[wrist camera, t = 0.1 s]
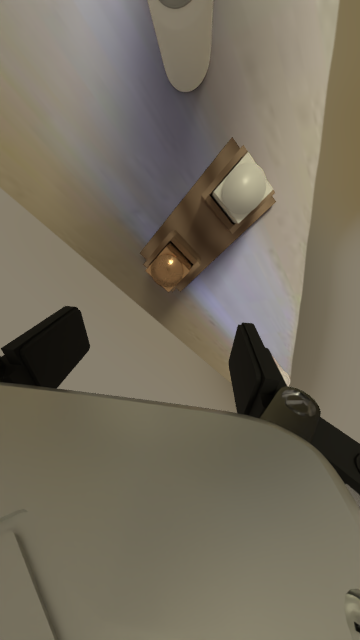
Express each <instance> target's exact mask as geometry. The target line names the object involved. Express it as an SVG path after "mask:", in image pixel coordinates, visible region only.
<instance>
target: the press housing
mask: <svg viewBox="0 0 360 640" xmlns="http://www.w3.org/2000/svg"><path fill="white" fill-rule="evenodd" d="M247 152H248V151H247V150H246V148H245V147H244V145H243V146H242V147H241V148H239V146H238V145H237V143H236V142H235V140H234V139H233V137H232V138H231V139H230V140H229V142H228V143H227V144H226V145H225V147H224V148H223V149H222V150H221V152H220V153H219V154H218V155H217V157H216V158H215V159H214V161H213V162H212V163H211V164H210V166H209V167H208V168H207V169H206V171H205V172H204V173H203V174H202V176H201V177H200V178H199V179H198V181H197V182H196V183H195V184H194V186H193V187H192V188H191V189H190V191H189V192H188V193H187V194H186V196H185V197H184V198H183V199H182V201H181V202H180V203H179V204H178V206H177V207H176V208H175V210H174V211H173V212H172V213H171V215H170V216H169V217H168V218H167V220H166V221H165V222H164V223H163V225H162V226H161V227H160V228H159V230H158V231H157V232H156V233H155V235H154V236H153V237H152V238H151V240H150V241H149V242H148V243H147V245H146V246H145V247H144V248H143V250H142V251H141V252H140V254H141V255H142V256H143V257H144V258H145V259H146V262H145V263H144V264H143V265H144V266H145V267H146V268H148V267H149V266H150V265H151V264H152V262H153V261H154V260H155V259H156V258H157V257H158V256H159V254H160V253H161V252H162V251H163V250H164V249H165V247H166V246H167V245H169V244H170V243H171V242H172V243H173V244H174V245H175V246H176V247H177V248H178V249H179V250H180V251H181V252H182V253H183V254H184V255H185V256H186V257H187V258H188V259H189V260H190V261H191V263H192V264H191V269H190V272H189V273H188V274H187V275H186V276H185V277H184V278H183V279H182V280H181V281H180V282H179V283H178V284H177V285H176V286H174V287H173V288H172V289H171V291H172V292H173V291H174V290H175V289H176V288H177V289H178V290H179V291H180V292H181V291H182V290H183V289H184V288H185V287H186V286H187V285H188V284H189V283H190V282H191V281H192V280H193V279H194V278H196V277H197V276H198V275H199V274H200V273H201V272H202V271H203V270H204V269H205V268H206V267H207V266H208V265H209V264H210V263H211V262H212V261H214V260H215V259H216V258H217V257H218V256H219V255H220V254H221V253H222V252H223V251H224V250H225V249H226V248H227V247H228V246H229V245H231V244H232V243H233V242H234V241H235V240H236V239H237V238H238V237H239V236H240V235H241V234H242V233H243V232H244V231H245V230H246V229H248V228H249V227H250V226H251V225H252V224H253V223H254V222H255V221H256V220H257V219H258V218H259V217H260V216H261V215H262V214H263V213H265V212H266V211H267V210H268V209H269V208H270V207H271V206H272V205H273V204H274V203H275V202H276V201H275V200H274V198H273V197H272V195H273V194H274V193H275V192H274V190H272V191H271V192H270V193H269V194H268V195H267V196H266V197H265V198H264V199H263V200H262V201H261V202H260V204H259V205H258V206H257V207H256V208H255V209H254V210H252V211H251V212H250V213H249V214H248V215H247V216H246V217H245V218H244V219H243V220H242V221H241V222H240V223H234V222H231V221H230V220H229V219H228V217H227V216H226V215H225V213H224V212H223V211H222V210H221V208H220V207H219V206H218V205H217V203H216V202H215V201H214V200H213V198H212V197H211V196H212V194H213V192H214V191H215V190H216V188H217V187H218V186H219V185H220V184H221V183H222V181H223V180H224V179H225V178H226V177H227V176H228V174H229V173H230V172H231V171H232V170H233V169H234V168H235V166H236V165H237V164H238V163H239V162H240V161H241V159H242V158H243V157H244V156H245V155H246V154H247Z"/></svg>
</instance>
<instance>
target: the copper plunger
mask: <svg viewBox="0 0 360 640" xmlns="http://www.w3.org/2000/svg"><path fill="white" fill-rule="evenodd" d="M191 264H192V263H191V261H190V260H189V259H188V258H187V257H186V256H185V255H184V254H183V253H182V252H181V251H180V250H179V249H178V248H177V247H176V246H175V245H174V244H173V243H172V242H171V243H170V244H169V245H167V246H166V247H165V249H164V250H163V251H162V252H161V253H160V254H159V256H158V257H157V258H156V259H155V260H154V261H153V262H152V264H151V265H150V266H149V267H148V268H147V269H146V272H147V273H148V274H149V275H151V276H152V278H153V279H154V281H155V282H156V283H157V284H158V285H160V286H162V287H163V288H165V289H166V290H167V291H168V292H169V291H170V290H171V289H172V288H173V287H174V286H176V285H177V284H178V283H179V282H180V281H181V280H182V279H183V278H184V277H185V276H186V275H187V274H188V273H189V272H190V269H191Z"/></svg>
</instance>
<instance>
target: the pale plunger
mask: <svg viewBox="0 0 360 640" xmlns="http://www.w3.org/2000/svg"><path fill="white" fill-rule="evenodd" d="M272 190H273V188H272V187H271V185H270V184H269V182H268V181H267V179H266V176H265V174H264V172H263V170H262V169H261V167H259V166H258V165H257V164H256V163H255V161H254V160H253V158H252V157H251V155H250V154H249V152H247V154H246V155H245V156H244V157H243V158H242V159H241V161H240V162H239V163H238V164H237V165H236V166H235V168H234V169H233V170H232V171H231V172H230V173H229V174H228V176H227V177H226V178H225V179H224V180H223V181H222V183H221V184H220V185H219V186H218V187H217V188H216V190H215V191H214V192H213V194H212V196H211V197H212V198H213V200H214V201H215V202H216V203H217V205H218V206H219V207H220V208H221V210H222V211H223V212H224V213H225V215H226V216H227V217H228V219H229V220H230V221H231V222H234V223H240V222H241V221H242V220H243V219H244V218H245V217H246V216H247V215H248V214H249V213H250V212H251V211H252V210H254V209H255V208H256V207H257V206H258V205H259V204H260V202H261V201H262V200H263V199H264V198H265V197H266V196H267V195H268V194H269V193H270V192H271V191H272Z"/></svg>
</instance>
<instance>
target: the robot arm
mask: <svg viewBox="0 0 360 640" xmlns="http://www.w3.org/2000/svg"><path fill="white" fill-rule="evenodd" d="M89 348H90V344H89V340H88V337H87V333H86V329H85V326H84V322H83V318H82V314H81V312H80V310H78V308H77V307H70V306H65V307H63V308H62V309H60V310H59V311H57V312H56V313H54V314H53V315H51V316H50V317H48V318H46V319H45V320H43V321H42V322H40V323H39V324H37V325H36V326H34V327H33V328H32V329H30V330H28V331H27V332H25V333H24V334H22V335H21V336H19V337H18V338H16V339H15V340H13V341H11V342H10V343H8V344H7V345H5V346H4V347H3V348H1V350H2V351H3V353H4V354H5V355H4V356H2V357H1V356H0V640H360V444H359V443H358V442H356V441H355V440H353V439H352V438H350V437H349V436H347V435H346V434H344V433H343V432H342V431H340V430H339V429H337V428H335V427H334V426H333V425H331V424H330V423H328V422H326V421H325V420H324V419H322V418H321V417H320V414H321V411H320V408H319V406H318V404H317V403H316V401H315V400H314V399H313V398H312V397H311V396H310V395H308V394H307V393H305V392H304V391H302V390H300V389H298V388H294V387H288V386H287V384H286V382H285V380H284V379H283V377H282V375H281V373H280V371H279V369H278V367H277V365H276V363H275V361H274V359H273V357H272V355H271V353H270V351H269V349H268V348H265V347H264V345H263V343H262V340H261V338H260V336H259V334H258V332H257V330H256V328H255V326H254V324H252V323H242V324H241V325H238V327H237V331H236V335H235V339H234V343H233V347H232V351H231V355H230V359H229V370H230V375H231V381H232V386H233V392H234V397H235V402H236V407H237V413H233V412H228V411H221V410H215V409H209V408H202V407H195V406H188V405H181V404H173V403H165V402H158V401H150V400H143V399H135V398H127V397H119V396H112V395H104V394H96V393H87V392H80V391H72V390H64V389H57V387H58V386H59V385H60V384H61V383H62V381H63V380H64V379H65V378H66V377H67V376H68V374H69V373H70V372H71V371H72V369H73V368H74V367H75V366H76V365H77V364H78V363H79V361H80V360H81V359H82V358H83V357H84V355H85V354H86V353H87V352H88V351H89Z"/></svg>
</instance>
